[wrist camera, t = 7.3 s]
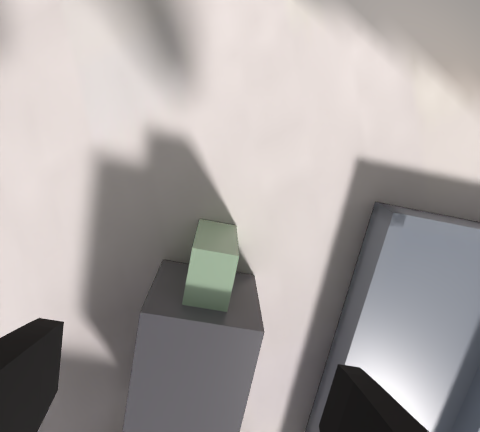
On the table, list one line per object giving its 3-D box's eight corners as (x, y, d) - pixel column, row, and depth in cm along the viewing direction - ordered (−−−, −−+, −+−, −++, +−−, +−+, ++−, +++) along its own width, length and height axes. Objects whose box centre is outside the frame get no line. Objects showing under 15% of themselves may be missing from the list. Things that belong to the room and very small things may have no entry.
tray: (289, 482, 22) (295, 517, 20) (375, 201, 18) (393, 212, 16) (423, 499, 23) (442, 534, 21) (538, 233, 18) (574, 247, 16)
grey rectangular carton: (170, 213, 17) (149, 250, 13) (264, 230, 18) (278, 273, 13) (141, 393, 20) (115, 481, 15) (224, 405, 21) (224, 494, 16)
